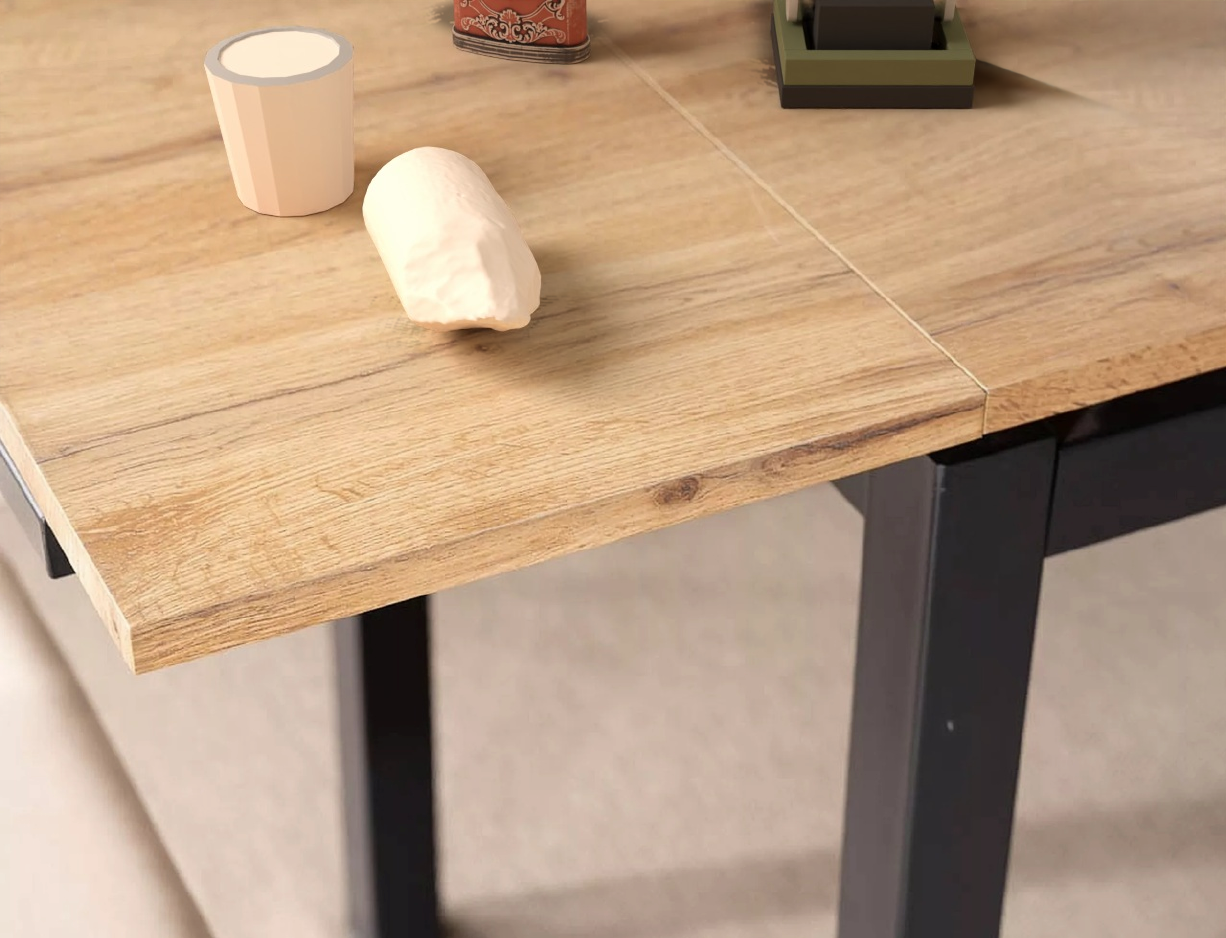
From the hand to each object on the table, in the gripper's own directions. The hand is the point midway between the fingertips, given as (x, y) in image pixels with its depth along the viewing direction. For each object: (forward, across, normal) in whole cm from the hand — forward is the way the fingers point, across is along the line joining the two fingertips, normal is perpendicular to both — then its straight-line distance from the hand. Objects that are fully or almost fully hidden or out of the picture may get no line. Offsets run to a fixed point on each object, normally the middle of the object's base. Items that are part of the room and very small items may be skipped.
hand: (868, 17), depth 94 cm
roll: (+3, -20, -26) cm, 33 cm away
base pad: (+3, 0, 0) cm, 3 cm away
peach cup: (+3, -29, -14) cm, 32 cm away
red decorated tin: (+3, -19, +3) cm, 19 cm away
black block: (+2, 0, 0) cm, 2 cm away
